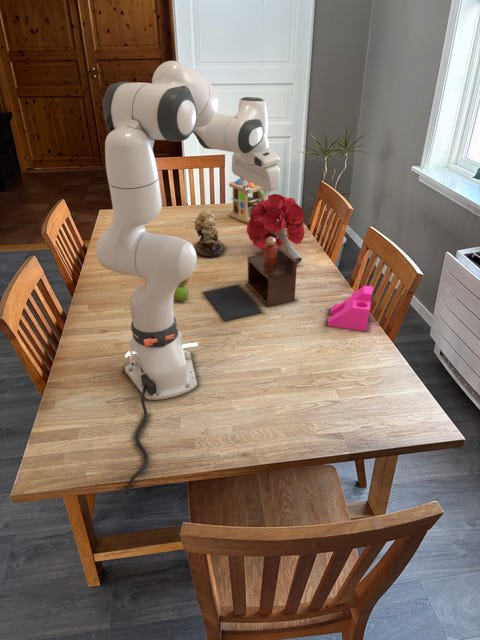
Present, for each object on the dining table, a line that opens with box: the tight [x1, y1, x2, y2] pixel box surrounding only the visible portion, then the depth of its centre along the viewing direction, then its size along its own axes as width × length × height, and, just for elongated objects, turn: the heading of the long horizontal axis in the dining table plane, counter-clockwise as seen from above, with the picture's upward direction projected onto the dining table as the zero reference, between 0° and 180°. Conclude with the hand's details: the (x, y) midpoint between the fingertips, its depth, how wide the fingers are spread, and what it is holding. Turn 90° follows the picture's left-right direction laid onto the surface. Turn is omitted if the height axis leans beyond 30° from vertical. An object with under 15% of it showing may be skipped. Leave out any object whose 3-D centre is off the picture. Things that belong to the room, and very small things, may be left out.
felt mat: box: [203, 284, 263, 322], centre depth 168 cm, size 20×13×1 cm, turn 23°
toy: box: [263, 237, 277, 267], centre depth 165 cm, size 4×4×10 cm
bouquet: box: [246, 193, 306, 265], centre depth 195 cm, size 22×24×30 cm
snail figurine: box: [174, 277, 190, 302], centre depth 166 cm, size 5×6×12 cm
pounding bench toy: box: [228, 178, 264, 225], centre depth 229 cm, size 23×14×18 cm, turn 40°
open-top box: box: [247, 243, 298, 308], centre depth 170 cm, size 17×10×15 cm, turn 23°
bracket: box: [327, 285, 374, 332], centre depth 156 cm, size 12×10×10 cm
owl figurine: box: [194, 209, 225, 258], centre depth 200 cm, size 18×12×17 cm, turn 10°
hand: (255, 194), depth 161 cm, fingers open, 8 cm apart
